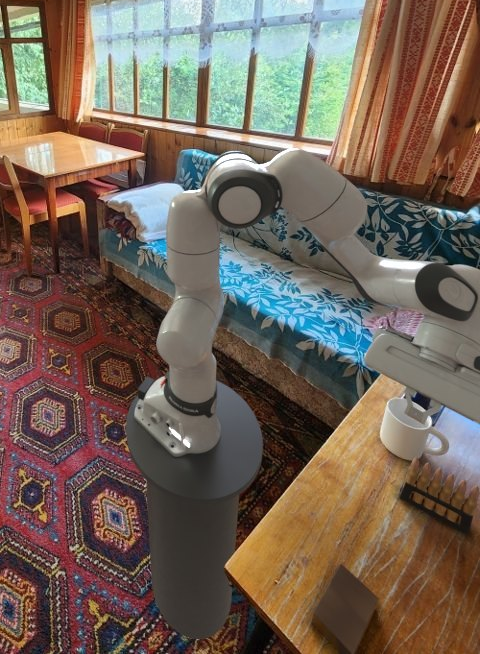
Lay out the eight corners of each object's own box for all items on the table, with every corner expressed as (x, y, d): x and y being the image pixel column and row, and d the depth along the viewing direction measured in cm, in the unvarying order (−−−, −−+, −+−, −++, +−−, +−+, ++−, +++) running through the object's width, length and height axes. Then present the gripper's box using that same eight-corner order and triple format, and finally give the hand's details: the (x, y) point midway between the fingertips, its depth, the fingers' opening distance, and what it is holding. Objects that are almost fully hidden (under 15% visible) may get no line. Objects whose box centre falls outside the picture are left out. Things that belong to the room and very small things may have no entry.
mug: (443, 451, 85) (454, 419, 82) (442, 480, 80) (454, 447, 76) (381, 422, 93) (389, 391, 89) (376, 447, 87) (384, 415, 84)
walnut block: (338, 572, 66) (311, 622, 61) (340, 562, 65) (313, 612, 60) (375, 608, 62) (350, 665, 56) (379, 598, 61) (353, 655, 55)
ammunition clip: (467, 526, 72) (484, 485, 68) (467, 535, 70) (485, 493, 66) (399, 490, 78) (411, 451, 74) (399, 498, 77) (411, 458, 73)
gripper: (376, 317, 74) (347, 380, 71) (523, 379, 58) (492, 462, 56) (381, 326, 78) (354, 385, 75) (519, 385, 62) (490, 463, 60)
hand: (414, 419), depth 66 cm, fingers closed
